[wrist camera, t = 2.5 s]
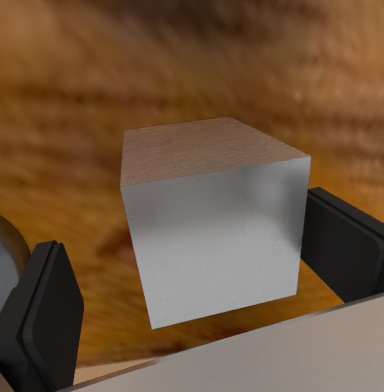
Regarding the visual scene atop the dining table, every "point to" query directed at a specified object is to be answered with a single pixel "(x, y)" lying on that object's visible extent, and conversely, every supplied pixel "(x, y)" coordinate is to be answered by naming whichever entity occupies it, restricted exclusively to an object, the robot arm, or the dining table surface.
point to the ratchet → (11, 258)
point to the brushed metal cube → (212, 216)
